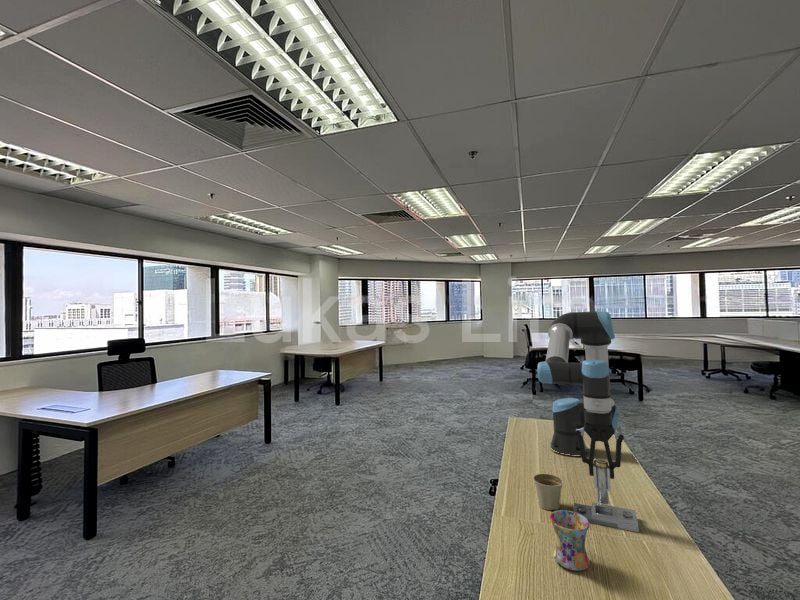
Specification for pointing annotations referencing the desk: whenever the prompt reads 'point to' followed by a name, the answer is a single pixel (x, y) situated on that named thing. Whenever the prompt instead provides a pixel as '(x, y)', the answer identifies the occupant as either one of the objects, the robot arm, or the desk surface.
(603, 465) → the pin
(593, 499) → the desk surface
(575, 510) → the grey slotted base plate
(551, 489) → the flower pot
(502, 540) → the desk surface
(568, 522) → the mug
